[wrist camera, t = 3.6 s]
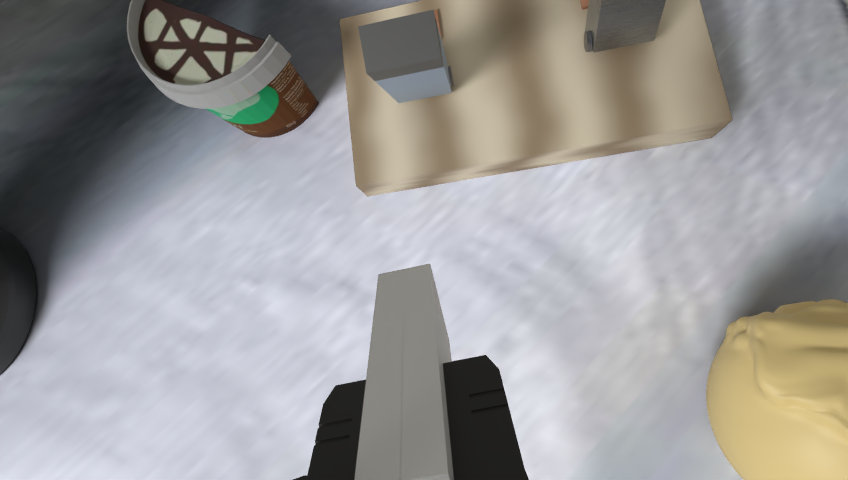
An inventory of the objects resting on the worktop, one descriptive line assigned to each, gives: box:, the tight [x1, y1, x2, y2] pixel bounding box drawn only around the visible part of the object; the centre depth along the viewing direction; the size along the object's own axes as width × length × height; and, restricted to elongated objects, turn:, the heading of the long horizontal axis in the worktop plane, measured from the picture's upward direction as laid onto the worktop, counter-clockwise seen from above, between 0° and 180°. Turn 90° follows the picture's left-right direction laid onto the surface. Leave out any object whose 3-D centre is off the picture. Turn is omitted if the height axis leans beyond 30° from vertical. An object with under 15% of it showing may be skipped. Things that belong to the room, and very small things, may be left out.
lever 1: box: [358, 10, 454, 103], centre depth 29 cm, size 4×2×11 cm, turn 97°
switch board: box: [340, 0, 732, 196], centre depth 35 cm, size 26×14×3 cm, turn 97°
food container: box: [127, 0, 319, 137], centre depth 35 cm, size 12×6×10 cm, turn 64°
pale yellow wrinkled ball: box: [706, 299, 848, 480], centre depth 24 cm, size 11×12×11 cm
